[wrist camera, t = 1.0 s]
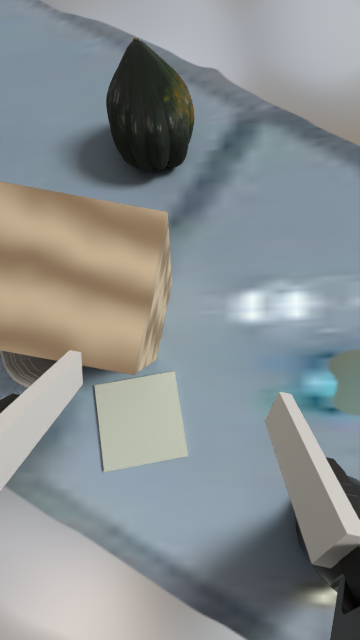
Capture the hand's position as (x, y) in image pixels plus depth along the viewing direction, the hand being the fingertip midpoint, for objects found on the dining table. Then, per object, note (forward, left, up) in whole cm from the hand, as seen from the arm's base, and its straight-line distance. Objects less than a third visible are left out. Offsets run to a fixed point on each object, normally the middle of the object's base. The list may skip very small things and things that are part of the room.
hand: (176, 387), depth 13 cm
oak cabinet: (+12, +13, -23) cm, 29 cm away
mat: (-9, +7, -23) cm, 26 cm away
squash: (+42, -3, -23) cm, 48 cm away
